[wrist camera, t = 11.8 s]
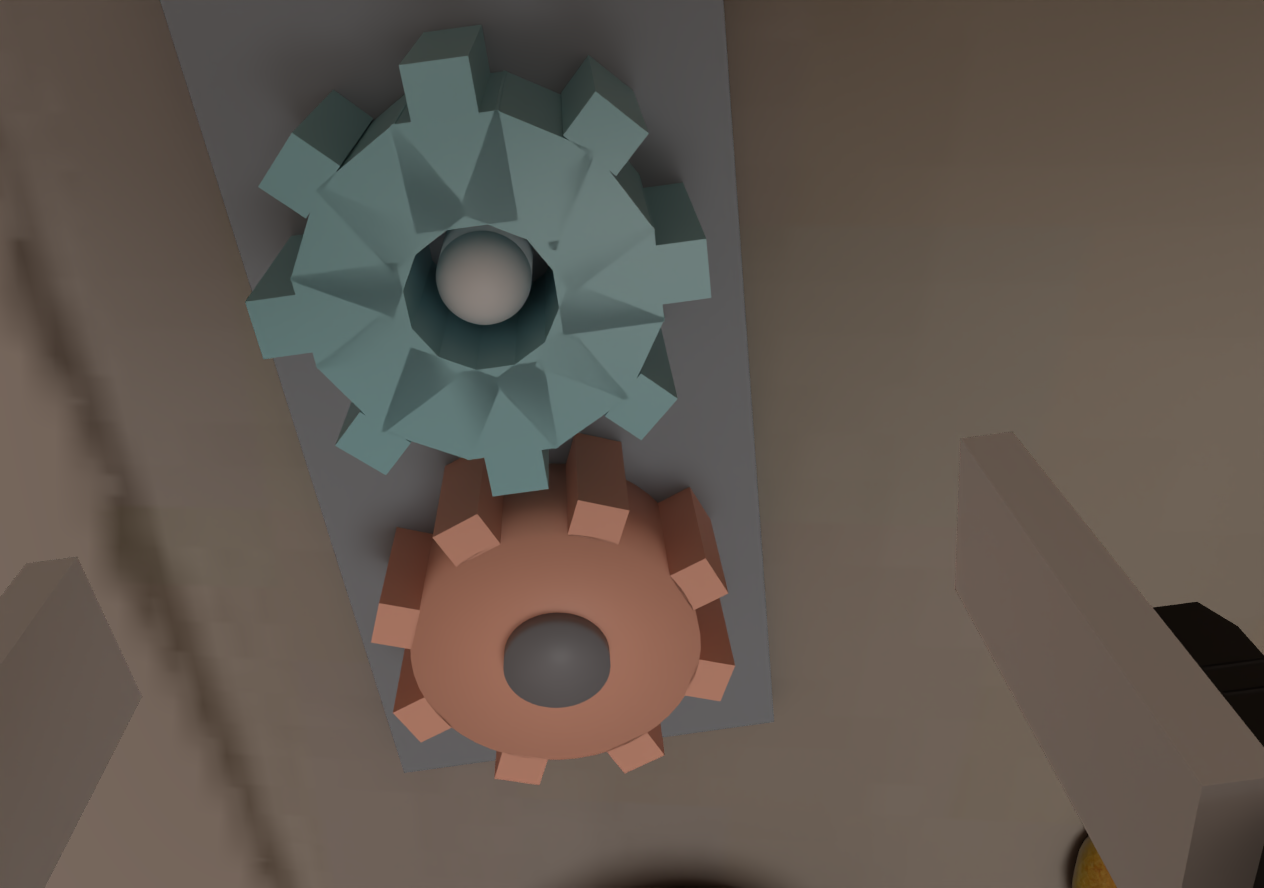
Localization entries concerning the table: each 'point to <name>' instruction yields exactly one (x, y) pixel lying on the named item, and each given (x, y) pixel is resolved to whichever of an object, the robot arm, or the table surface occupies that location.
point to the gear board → (578, 470)
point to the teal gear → (465, 197)
